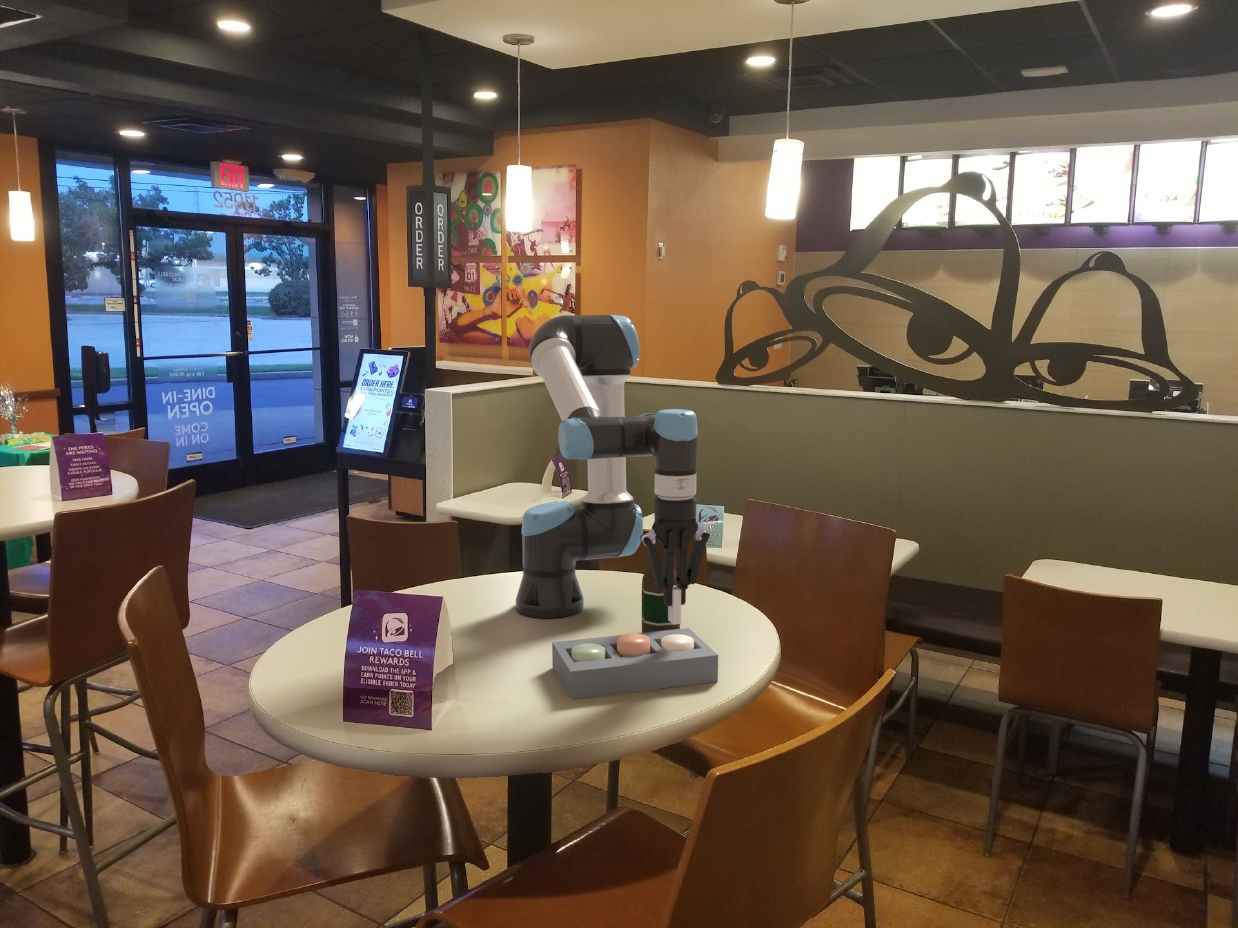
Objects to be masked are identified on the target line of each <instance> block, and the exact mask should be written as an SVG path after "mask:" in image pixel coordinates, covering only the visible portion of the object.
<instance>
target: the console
mask: <svg viewBox="0 0 1238 928" xmlns="http://www.w3.org/2000/svg"><path fill="white" fill-rule="evenodd" d="M636 634H643V635H646V636H648V637H649V638H650V654H646V655H636V656H627V657H620V656H619V655H618V654H617V638H618V637H619V636H621V635H622V634H619V635H607V636H599V637H590V638H588V637H587V638H581V639H579V638H577V639H570V640H560V641H553V642H551V647H552V649H551V653H552V654H551V655H552V656H551V658H552V662H551V664H552V669H553V671H554V673H555V674H556V676H557V678H558V680H559V679H560V680H559V681H560V683H561V685H562V686H563V688H564V690H565V691H566V694H567V695H568V696H569V698H570V699H571V700H575V699H576V700H577V699H578V700H579V699H585V698H587V699H588V698H592V697H594V696H595V697H600V696H601V697H602V696H603V697H604V696H612V695H618V694H619V693H620V694H626V692H628V693H635V692H642V690H645V691H650V690H659V689H660V690H661V689H667V688H676V687H684V686H685V687H686V686H693V685H702V684H710V683H717V682H719V654H718V653H717V652H716V651H714V650H713V649H712V648H711V647H710V646H709V645H708V644H707V643H706V642H705V641H704V640H702V639H701V637H699V636H698V635H697V634H696V633H695V632H694V631H693V630H691V629H690V628H689V627H687V628H680V629H675V630H665V631H656V632H646V633H642V632H639V633H636ZM672 634H681V635H687V636H690V637H692V638H693V639H694V649H691V650H682V651H673V652H665V651H664V650H663V649H662V648H661V639H662V638H663V637H664V636H667V635H672ZM580 644H598V645H601V646H603V647H604V648H605V659H600V660H591V661H582V662H573V660H572V648H573V647H574V646H576V645H580ZM620 694H619V695H620Z"/></svg>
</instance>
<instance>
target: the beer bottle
mask: <svg viewBox="0 0 1238 928" xmlns="http://www.w3.org/2000/svg"><path fill="white" fill-rule="evenodd" d="M655 540H656V542H655V544H654V546H655V548H656V551H657V555H658V560H659V564H660V568H661V572H662V577H663V549H662V543H661V542H660V541H659V539H658V538H657V537H656V536H655ZM675 585H676V586H677V584H676V568H674V578H673V586H675ZM675 629H681V624H675V625H673V624H672V623H671V622H670V621H669V620H668V606H666V605H665V604H664V588H662V587H659V586H657V585H656V584H655V583H654V581H653V577H652V573H651V569H650V564H649V565H648V566H647V568H646V569H645V571H644V572H643V576H642V581H641V633H646V632H656V631H665V630H675Z"/></svg>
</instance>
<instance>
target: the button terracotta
mask: <svg viewBox="0 0 1238 928" xmlns="http://www.w3.org/2000/svg"><path fill="white" fill-rule="evenodd" d="M620 635H621V636H619V637H618V638H617V654H618V655H619V656H620V657H627V656H636V655H646V654H650V638H649V637H648V636H646V635H643V634H636V633H633V632H632V633H631V632H630V633H624V634H620Z"/></svg>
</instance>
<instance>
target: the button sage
mask: <svg viewBox="0 0 1238 928" xmlns="http://www.w3.org/2000/svg"><path fill="white" fill-rule="evenodd" d="M600 659H605V648H604V647H603V646H601V645H598V644H580V645H576V646H574V647H573V648H572V660H573V662H582V661H591V660H600Z"/></svg>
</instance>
